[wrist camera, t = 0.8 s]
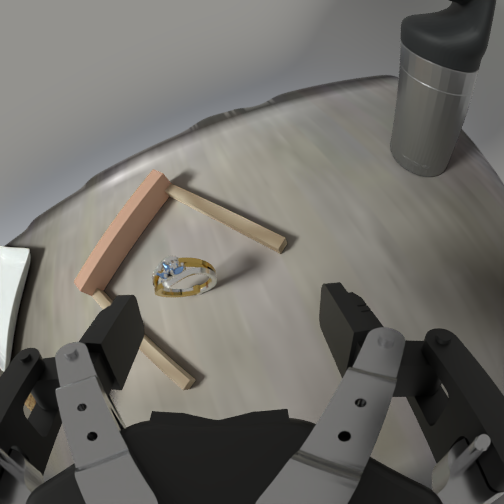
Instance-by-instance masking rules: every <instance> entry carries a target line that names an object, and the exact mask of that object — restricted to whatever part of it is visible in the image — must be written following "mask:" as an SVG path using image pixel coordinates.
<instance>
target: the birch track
mask: <svg viewBox="0 0 504 504" xmlns="http://www.w3.org/2000/svg"><path fill="white" fill-rule="evenodd" d="M165 192H166V193H167V194H168V195H169V196H170V197H172V198H174V199H175V200H177V201H179V202H181V203H183V204H185V205H187V206H189V207H191V208H193V209H195V210H197V211H199V212H201V213H203V214H205V215H207V216H209V217H211V218H213V219H214V220H216V221H218V222H220V223H222V224H224V225H226V226H228V227H230V228H232V229H234V230H236V231H238V232H240V233H241V234H243V235H245V236H247V237H249V238H251V239H253V240H255V241H257V242H259V243H261V244H262V245H264V246H266V247H268V248H270V249H272V250H274V251H276V252H278V253H280V254H281V253H282V251H283V249H284V248H285V246H286V245H287V241H286V238H285V237H283V236H281V235H279V234H276V233H274V232H272V231H270V230H268V229H266V228H264V227H262V226H260V225H258V224H256V223H254V222H252V221H250V220H248V219H246V218H244V217H242V216H240V215H238V214H235V213H233V212H231V211H229V210H227V209H225V208H223V207H221V206H219V205H217V204H214V203H212V202H210V201H208V200H206V199H204V198H202V197H200V196H197V195H195V194H193V193H191V192H189V191H187V190H185V189H182V188H180V187H178V186H176V185H174V184H170V185H169V186H168V188H167V189H166V190H165ZM92 297H93V298H94V299H95V300H96V302H97V303H98V304H99V305H100V306H101V308H102V309H105V308H106V307H108V306H110V305H111V303H112V302H113V301H112V300H111V299H110V298H109V296H108V295H107V294H106V293H105V292H104V291H103V290H101V289H98V288H96V290H95V292H94V293H93V295H92ZM139 349H140V350H141V351H142V352H143V353H144V354H145V355H146V356H147V357H148V358H149V359H150V360H151V361H152V362H153V363H154V364H155V365H156V366H157V367H158V368H159V369H160V370H161V371H162V372H163V373H165V374H166V375H167V376H168V377H169V378H170V379H171V380H172V381H173V382H174V383H176V384H177V385H178V386H179V387H180V388H181V389H182V390H188V389H190V387H191V386H192V385H193V383H194V382H195V380H196V379H194V378H193V377H192V376H191V375H190V374H188V373H187V372H186V371H185V370H184V369H183V368H181V367H180V366H179V365H178V364H177V363H176V362H174V361H173V360H172V359H171V358H170V357H169V356H168V355H167V354H165V353H164V352H163V351H162V350H161V349H160V348H159V347H158V346H157V345H156V344H155V343H154V342H153V341H151V340H150V339H149V338H148V337H147V336H146V335H145V334H144V338H143V340H142V343H141V345H140V347H139Z"/></svg>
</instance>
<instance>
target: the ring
mask: <svg viewBox="0 0 504 504" xmlns="http://www.w3.org/2000/svg"><path fill="white" fill-rule="evenodd" d="M169 264H170V265H171V266H169ZM186 267H197V268H191V269H188V270H186ZM164 269H165V271H166V273H162V272H163V271H164ZM184 270H186V271H184ZM195 274H202V275H206V276H208V277H210V278H209V280H208V281H207V282H205V283H204V284H202V285H195V286H193V288H187V289H169V288H167V287H169V286H172V285H174V284H175V283H177V282H179V281H180V280H182V279H184V278H186V277H188V276H191V275H195ZM159 277H161V278H162V279H163V280H162V281H161V283H159V281H158V279H159ZM173 277H174V278H173ZM152 279H153V286H154V290H155V295H157V296H161V297H185V296H191V295H200V294H202V293H203V292H206V291H208V290H210V289H211V288H213V287H214V286H215V285H216V283H217V277H216V271H215V269H214V267H213V266H212V265H211V264H209V263H208V262H206V261H203V260H200V259H196V258H177V257H176V256H169V257H166V258H165V259H163V260H162V261H161V262H160V264H159V265H158V266H157V268H156V269H155V271H154V273H153V276H152Z"/></svg>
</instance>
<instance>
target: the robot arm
mask: <svg viewBox="0 0 504 504" xmlns="http://www.w3.org/2000/svg"><path fill="white" fill-rule="evenodd" d="M450 1H452V4H451V5H450V6H449V7H448V8H447V9H444V10H442V11H439V12H435V13H428V14H419V15H411V16H408V17H406V18H405V19H404V20H403V21H402V24H401V46H400V47H401V48H400V67H399V80H398V91H397V100H396V109H395V116H394V123H393V130H392V137H391V143H390V148H391V152H392V155H393V156H394V158H395V159H396V161H397V162H398V163H399V164H400V165H401V166H403V167H404V168H405V169H407V170H408V171H410V172H412V173H414V174H417V175H421V176H426V177H432V176H437V175H439V174H441V173H442V172H443V171H444V170H445V169H446V167H447V165H448V162H449V160H450V157H451V155H452V152H453V150H454V148H455V145H456V142H457V140H458V137H459V134H460V131H461V129H462V126H463V123H464V120H465V117H466V113H467V111H468V107H469V104H470V100H471V97H472V94H473V90H474V86H475V82H476V78H477V75H478V70H479V66H480V62H481V59H482V57H483V55H484V53H485V51H486V49H487V46H488V41H489V36H490V31H491V26H492V21H493V16H494V10H495V4H496V0H450ZM319 321H320V327H321V330H322V332H323V335H324V337H325V339H326V342H327V344H328V346H329V348H330V351H331V353H332V355H333V358H334V360H335V362H336V365H337V367H338V369H339V372H340V374H341V376H342V380H341V382H340V384H339V386H338V388H337V390H336V391H335V393H334V395H333V397H332V399H331V400H330V402H329V404H328V406H327V407H326V409H325V411H324V412H323V414H322V416H321V417H320V419H319V421H318V422H317V424H314V423H312V422H308V421H305V420H300V419H294V418H289V415H288V410H287V409H281V410H271V411H259V412H251V413H247V414H243V415H239V416H235V417H231V418H227V419H222V420H212V419H207V418H202V417H198V416H193V415H189V414H185V413H171V412H155V411H152V414H151V418H150V421H144V422H140V423H137V424H134V425H131V426H129V427H127V428H126V426H125V424H124V422H123V420H122V418H121V416H120V414H119V412H118V410H117V408H116V406H115V404H114V402H113V399H112V397H111V396H110V394H109V393H110V391H111V389H115V390H122V389H123V386H124V384H125V381H126V379H127V376H128V374H129V371H130V369H131V367H132V364H133V362H134V359H135V357H136V355H137V352H138V350H139V347H140V345H141V343H142V340H143V338H144V325H143V321H142V318H141V314H140V310H139V307H138V303H137V299H136V297H135V296H134V295H118V296H117V297H116V298H115V299H114V301H113V302H112V303H111V305H110V306H108V307H106V308H105V309H103V310H102V311H101V312H100V313H99V314H98V315H97V317H96V318H95V320H94V321H93V322H92V324H91V326H89V328H88V329H87V331H86V332H85V334H84V335H83V336H82V338H81V339H80V341H79V342H73V343H69V344H66V345H64V346H63V347H61V348H60V349H59V350H58V351H57V353H56V356H55V357H52V358H44V359H43V358H42V357H41V355H40V353H39V351H38V350H37V349H35V348H27V349H24V350H22V351H20V352H19V353H18V354H17V355H16V356H15V357H14V359H13V360H12V361H11V363H10V364H9V365H8V367H7V368H6V370H5V371H4V373H3V374H2V376H1V377H0V504H490V503H492V502H493V501H495V500H496V499H497V498H499V497H500V496H502V495H503V494H504V396H503V394H502V393H501V392H500V390H499V389H498V387H497V386H496V385H495V383H494V382H493V381H492V379H491V378H490V377H489V375H488V374H487V373H486V372H485V370H484V369H483V368H482V366H481V365H480V364H479V363H478V361H477V360H476V359H475V358H474V357H473V355H472V354H471V353H470V352H469V350H468V349H467V348H466V347H465V346H464V344H463V343H462V342H461V341H460V340H459V339H458V337H457V336H456V335H455V334H453V333H452V332H450V331H448V330H445V329H439V328H438V329H432V330H430V331H428V332H427V334H426V336H425V339H424V341H405V338H404V336H403V335H402V334H401V333H400V332H398V331H397V330H394V329H391V328H386V327H383V326H382V324H381V323H380V321H379V320H378V319H377V317H376V316H375V315H374V314H373V312H372V311H371V310H370V308H369V307H368V306H367V305H366V303H365V302H364V300H363V299H362V298H361V297H359V296H358V295H356V294H354V293H353V292H350V293H348V292H347V291H346V289H345V288H344V287H343V285H342V284H341V283H340V282H338V283H328V284H323V285H322V288H321V301H320V314H319ZM441 384H443V385H444V387H445V388H446V390H447V392H448V396H449V398H448V397H447V395H446V393H445V392H444V390H443V389H442V387H441ZM30 393H31V394H32V396H33V397H34V399H35V400H36V404H35V406H34V408H33V410H32V412H31V414H30V416H29V418H28V420H27V418H26V417H25V415H24V412H23V406H24V403H25V402H26V400H27V398H28V396H29V394H30ZM392 397H406V398H407V400H408V402H409V404H410V406H411V408H412V410H413V412H414V414H415V416H416V418H417V420H418V423H419V425H420V427H421V429H422V431H423V433H424V436H425V438H426V440H427V442H428V445H429V447H430V449H431V451H432V454H433V456H434V458H435V461H436V463H437V464H436V466H435V467H434V469H433V472H432V482H433V483H432V488H433V490H431V489H430V488H428V487H426V486H424V485H422V484H420V483H418V482H416V481H414V480H412V479H410V478H408V477H406V476H404V475H402V474H400V473H398V472H396V471H395V470H393V469H391V468H389V467H387V466H385V465H384V464H382V463H380V462H378V461H377V460H375V459H373V458H371V457H370V455H371V453H372V450H373V448H374V445H375V443H376V441H377V438H378V436H379V433H380V430H381V428H382V425H383V422H384V419H385V417H386V414H387V411H388V408H389V405H390V402H391V399H392ZM62 423H63V427H64V431H65V435H66V438H67V441H68V445H69V448H70V451H71V454H72V457H73V460H74V464H73V465H71V466H70V467H68V468H67V469H65V470H63V471H62V472H60V473H59V474H57V475H56V476H54V477H53V478H51V479H49V480H48V481H46V482H45V483H44V478H43V474H44V471H45V468H46V465H47V462H48V459H49V456H50V453H51V451H52V448H53V445H54V442H55V440H56V437H57V434H58V432H59V429H60V427H61V424H62Z"/></svg>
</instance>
